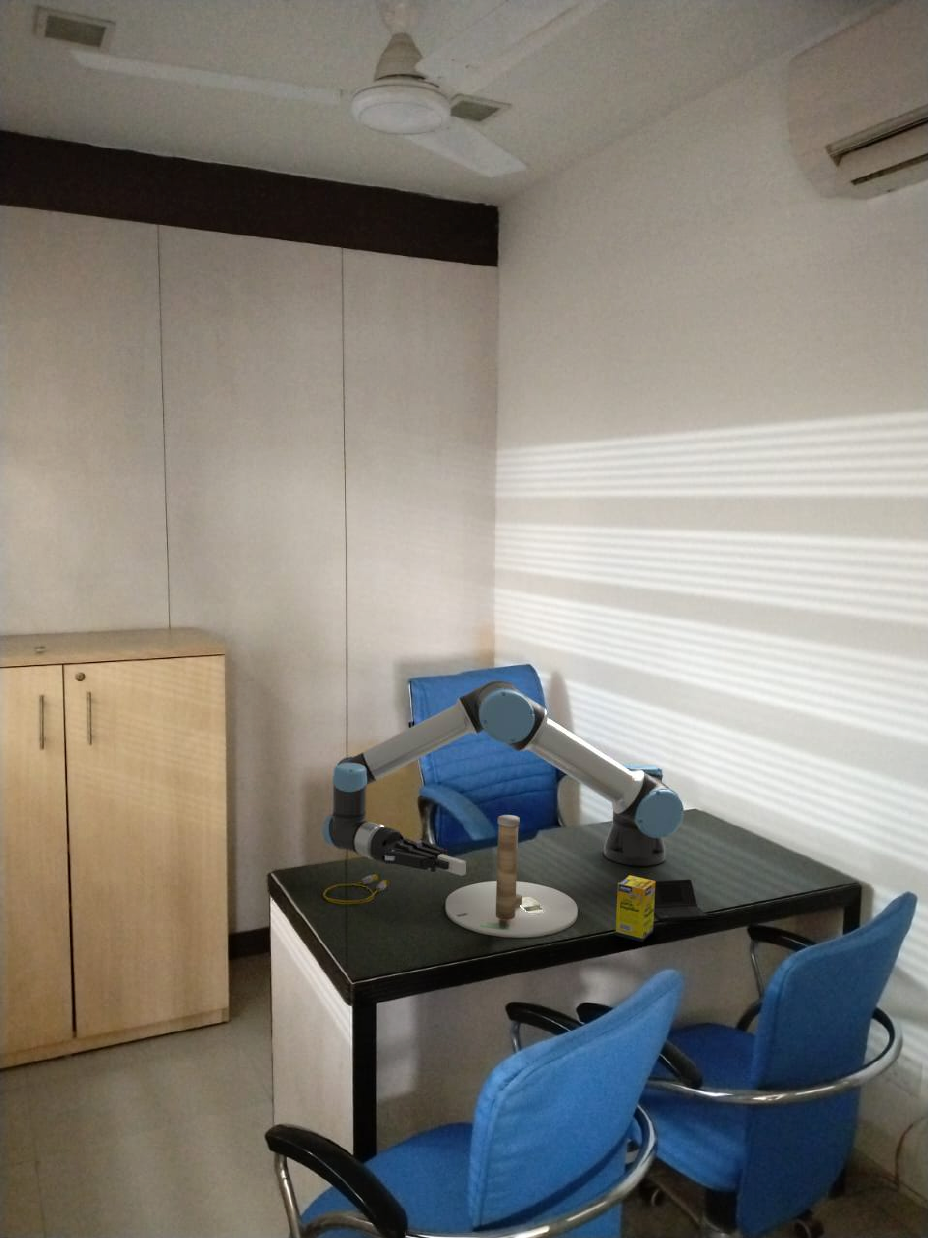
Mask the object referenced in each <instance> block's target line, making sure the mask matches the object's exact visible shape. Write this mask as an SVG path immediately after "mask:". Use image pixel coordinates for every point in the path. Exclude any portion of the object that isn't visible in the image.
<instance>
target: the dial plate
mask: <svg viewBox="0 0 928 1238" xmlns="http://www.w3.org/2000/svg"><path fill="white" fill-rule="evenodd" d="M496 884H497V880H493V881H483V882H477V883H472V884H469V885H465V886H463V887H460V888H458V889H456V890H454V891H453V892H451V893H449V895H448V896H447V898H446V900H445V913H446V915H447V917H448V918H449V919H450V920H451V921H452V922H453V923H455V924H457V925H458V926H459V927H462V928H464V929H467V930H468V931H472V932H475V933H479V934H483V935H488V936H494V937H500V938H516V939H517V938H519V939H521V938H522V939H524V938H525V939H526V938H527V939H528V938H537V937H545V935H546V936H549V935H554V934H557V933H560V932H562V931H565V930H567V929H568V928H570V927H571V926H572V925H574V923H575V922H576V921H577V919H578V911H579V910H578V909H579V907H578V905H577V903H576V902H575V900H574V899H573V898H571V897H570V896H569V895H567V894H566V893H565V892H562V891H561V890H560V891H559V890H557V889H555V888H552V887H550V886H545V885H542V884H537V883H531V882H526V881H516V893H517V894H520V895H521V896H522V898H523V897H531V898H533V899H534V900H536V901H537V902H538V903H539V905H540V908H542V910H543V912H544V911H545V912H544V913H541V912H540V913H539V914H541V915H538V913H528V912H525V910H523V909H522V908H521V907H520V906H518V907H516V909H515V918H513V919H511V920H510V923H509V926H506V928H500V925H499V918H497V917H496ZM531 914H533V915H531ZM534 914H535V915H534Z"/></svg>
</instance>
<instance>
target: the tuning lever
mask: <svg viewBox="0 0 928 1238" xmlns="http://www.w3.org/2000/svg"><path fill="white" fill-rule="evenodd" d="M520 820H521V819H520V817H519V816H517V815H511V814H503V815H500V816H498V817H497V824H498V826H497V827H498V828H497V829H498V832H497V857H496V860H497V861H496V881H497V884H496V917H497V918H499V925H500V928H506V926H509V923H510V920H511V919H513V918H515V909H516V907H518V906H520V905H522V896H521V895H520V894H517V893H516V881H517V878H518V876H517V873H518V850H519V849H518V848H519V847H518V845H519V825H520V823H521V821H520ZM517 882H518V881H517Z"/></svg>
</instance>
